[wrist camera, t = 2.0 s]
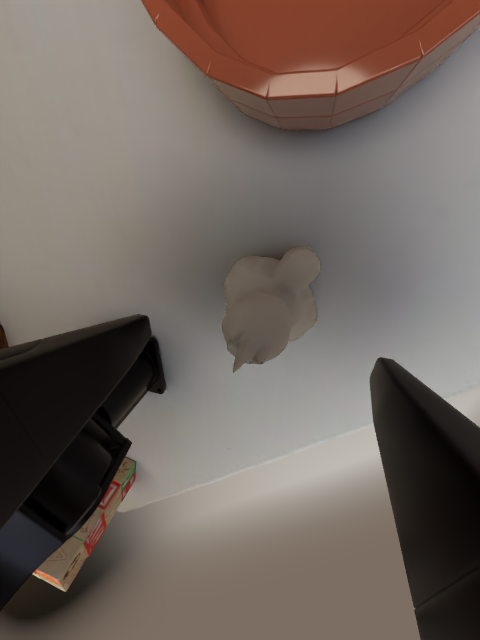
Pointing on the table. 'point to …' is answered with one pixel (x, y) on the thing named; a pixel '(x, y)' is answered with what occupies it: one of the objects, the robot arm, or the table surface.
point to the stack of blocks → (87, 533)
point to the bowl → (314, 51)
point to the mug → (2, 339)
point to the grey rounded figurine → (269, 304)
